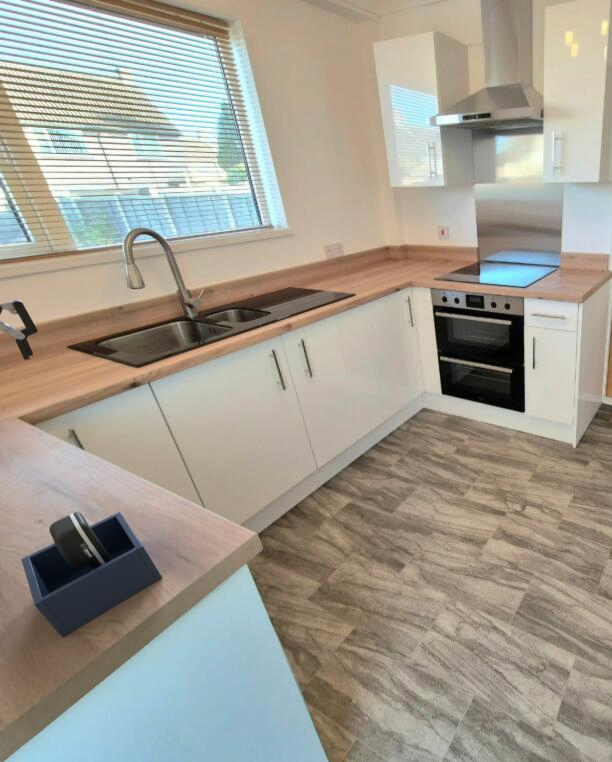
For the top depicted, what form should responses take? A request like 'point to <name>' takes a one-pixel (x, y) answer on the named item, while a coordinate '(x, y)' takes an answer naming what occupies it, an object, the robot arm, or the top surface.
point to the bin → (89, 577)
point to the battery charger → (78, 542)
